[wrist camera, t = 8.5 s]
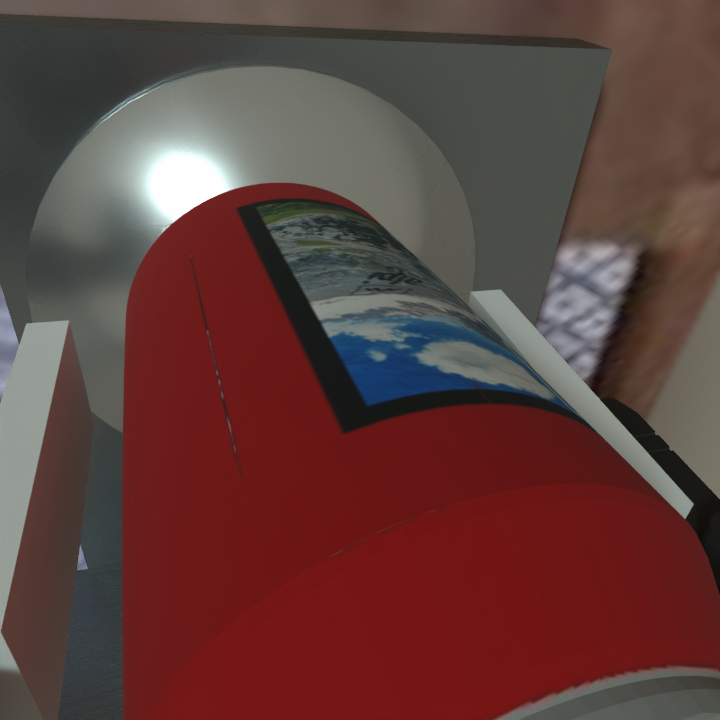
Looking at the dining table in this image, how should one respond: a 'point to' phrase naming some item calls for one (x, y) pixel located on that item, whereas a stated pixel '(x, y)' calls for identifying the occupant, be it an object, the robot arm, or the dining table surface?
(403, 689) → the beverage can
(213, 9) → the dining table surface
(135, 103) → the press
